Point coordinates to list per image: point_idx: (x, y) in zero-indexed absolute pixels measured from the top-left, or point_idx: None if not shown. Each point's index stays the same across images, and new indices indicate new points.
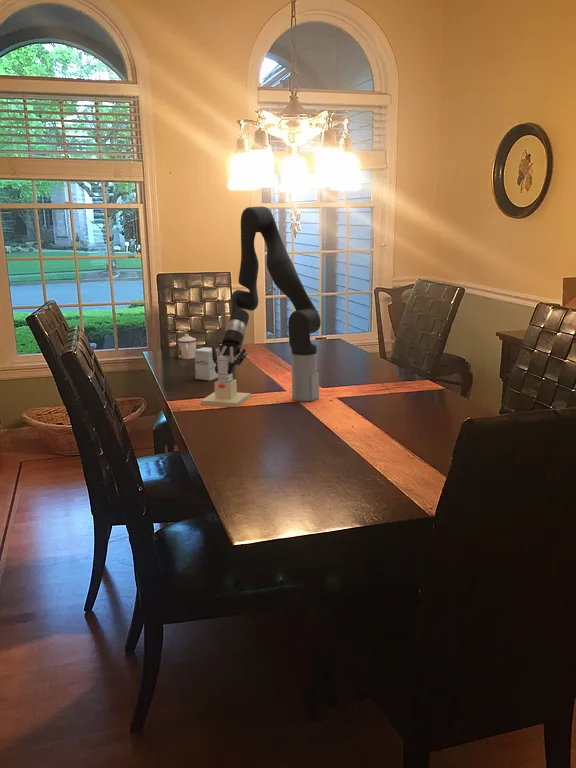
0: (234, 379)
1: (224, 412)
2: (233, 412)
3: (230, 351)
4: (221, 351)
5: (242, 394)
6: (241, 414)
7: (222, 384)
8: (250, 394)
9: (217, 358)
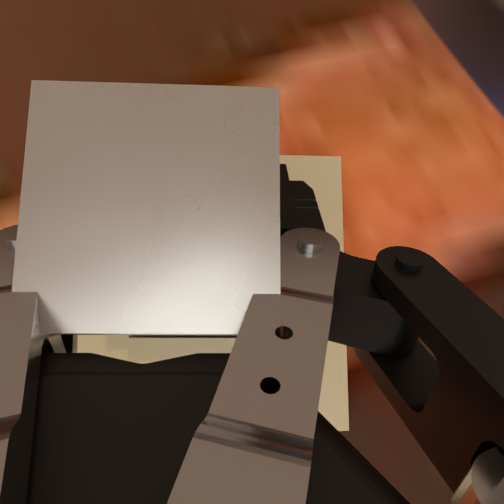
0: (130, 358)
1: (122, 43)
2: (68, 54)
3: (8, 403)
4: (313, 384)
5: None
6: (7, 28)
7: None
8: None
9: (272, 101)
